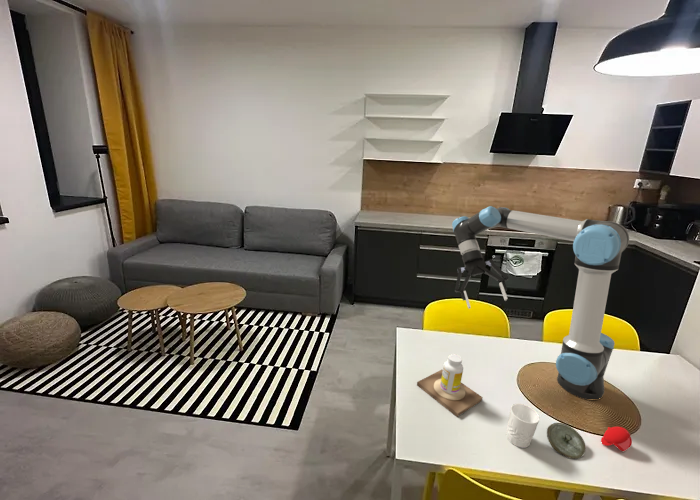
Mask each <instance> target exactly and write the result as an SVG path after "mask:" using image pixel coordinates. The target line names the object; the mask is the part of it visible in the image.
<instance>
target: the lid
mask: <svg viewBox="0 0 700 500" xmlns="http://www.w3.org/2000/svg"><path fill="white" fill-rule="evenodd" d="M546 437H547V440H548V442H549V444H550V446H551V448H552V449H553V450H554V451H555V452H556V453H557V454H559V455H561V456H563V457H565V458H567V459H571V460H577V459H580V458H582V457H583V456H584V454H585V453H586V442H585V441H584V438H583V436H581V434H580V432H578V431H577V430H576V429H574V428H573V427H571V426H570V425H568V424H566V423H562V422H554V423H551V424H550V425H548V427H547V428H546Z"/></svg>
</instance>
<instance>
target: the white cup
mask: <svg viewBox="0 0 700 500" xmlns="http://www.w3.org/2000/svg"><path fill="white" fill-rule="evenodd" d="M540 420H541V419H540V415H539V414H538V412H537V411H536V410H535V409H534V408H532V407H531V406H529V405H526V404H524V403H515V404H512V405H511V406H510V411H509V415H508V422H507V427H506V434H505V436H506V438H507V440H508V441H509V443H511V444H512V445H514V446H516V447H518V448H521V449H525V448H527V447H529V446H530V444H531V442H532V440H533V438H534V435H535V432H536V430H537V427H538V424H539V422H540Z"/></svg>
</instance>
